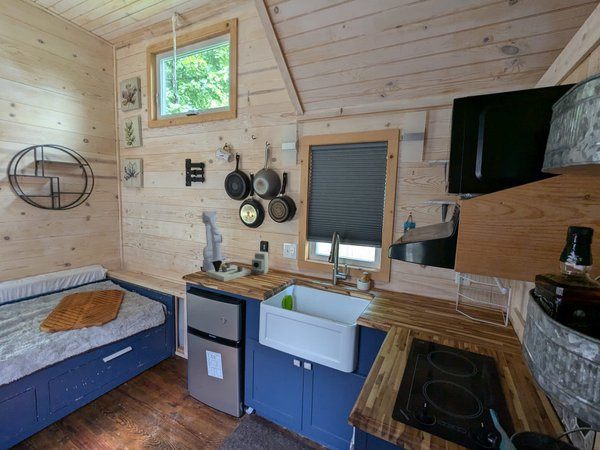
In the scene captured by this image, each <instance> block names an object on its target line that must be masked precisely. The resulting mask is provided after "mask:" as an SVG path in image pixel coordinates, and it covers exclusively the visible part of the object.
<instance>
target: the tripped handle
mask: <svg viewBox="0 0 600 450" xmlns="http://www.w3.org/2000/svg"><path fill="white" fill-rule="evenodd" d="M221 268H222V271H223V272H226V271H227V266H226V265H225V264H223V265H222V264H221Z"/></svg>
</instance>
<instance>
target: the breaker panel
mask: <svg viewBox="0 0 600 450" xmlns="http://www.w3.org/2000/svg"><path fill="white" fill-rule="evenodd" d="M224 265H226V266H227V271H226V272H223V271H222V267H220V268H219V272H215V269H213V270H209V271H205V272H206V275H205V276H208V277H211V278H213V279H216V280H218V281H222V282H227V281H231V280H233V279H238V278H241V277H244V276H248V275H251V274H252V269H250V268H249V269H248V268H246V267H243V265H236V264H232V265H231V263H230V262H224Z"/></svg>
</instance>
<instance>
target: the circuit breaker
mask: <svg viewBox="0 0 600 450" xmlns="http://www.w3.org/2000/svg"><path fill="white" fill-rule="evenodd" d="M269 255H270V254H269V251H260V250H259V251H257V252H255V253H254V258H252V259H251V271H254V274H258V275H266V274H267V273H269V258H270V257H269Z"/></svg>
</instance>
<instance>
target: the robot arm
mask: <svg viewBox="0 0 600 450" xmlns="http://www.w3.org/2000/svg"><path fill="white" fill-rule="evenodd" d="M201 217H202V219H201V220H202V224H204V226H205V240H206V246H205V247H203V249H202V258H203V260H202V268H201V271H204V272H206V271H209V270H213V269H215V272H219V268H221V267H222V264H223V261H225V260H226V261H227V256H222V243H223V235H222V234H221V233H220V230H219V227H218V226H217V222H216V221H217V219H218V214H217V211H202V213H201Z"/></svg>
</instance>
